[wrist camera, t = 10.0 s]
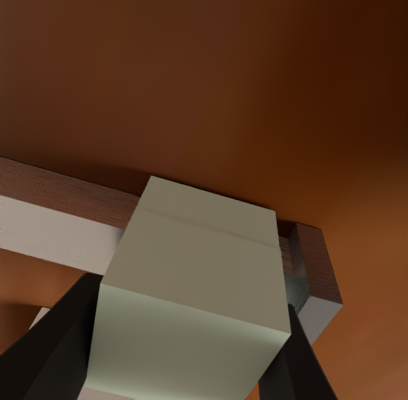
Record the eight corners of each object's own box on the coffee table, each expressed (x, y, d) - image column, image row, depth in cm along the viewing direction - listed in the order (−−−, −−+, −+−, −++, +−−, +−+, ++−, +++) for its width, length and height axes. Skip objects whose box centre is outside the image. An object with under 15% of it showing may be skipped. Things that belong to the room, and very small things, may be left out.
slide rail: (321, 229, 13) (343, 304, 10) (280, 297, 15) (288, 374, 12) (-115, 104, 12) (-232, 147, 9) (-91, 197, 14) (-179, 255, 11)
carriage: (275, 210, 12) (291, 333, 8) (234, 295, 15) (229, 422, 11) (151, 174, 12) (100, 283, 8) (131, 267, 15) (85, 386, 10)
